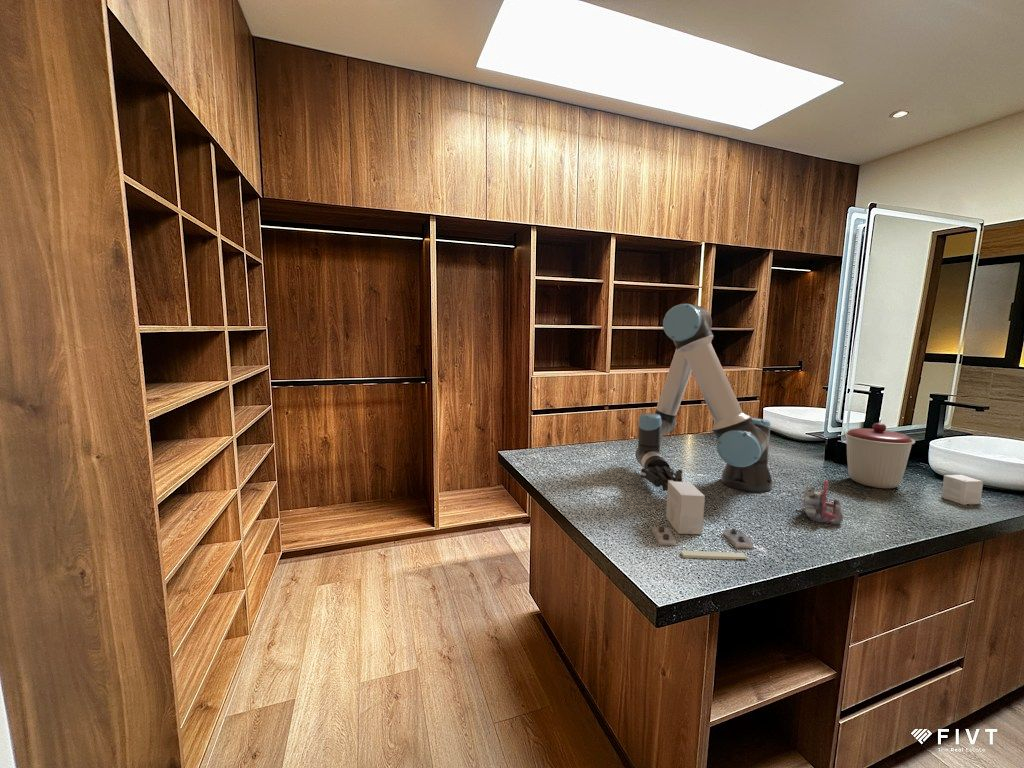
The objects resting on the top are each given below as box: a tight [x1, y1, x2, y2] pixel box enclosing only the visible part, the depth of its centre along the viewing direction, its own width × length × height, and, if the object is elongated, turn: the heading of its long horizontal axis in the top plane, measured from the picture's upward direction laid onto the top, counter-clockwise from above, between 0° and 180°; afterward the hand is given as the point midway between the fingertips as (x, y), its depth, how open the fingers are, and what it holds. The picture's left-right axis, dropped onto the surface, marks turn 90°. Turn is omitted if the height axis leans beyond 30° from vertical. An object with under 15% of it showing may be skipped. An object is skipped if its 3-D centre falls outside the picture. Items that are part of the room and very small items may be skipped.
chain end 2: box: [722, 528, 754, 549], centre depth 104 cm, size 4×7×2 cm, turn 176°
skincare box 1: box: [665, 481, 706, 535], centre depth 112 cm, size 10×6×10 cm, turn 177°
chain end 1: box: [651, 526, 677, 546], centre depth 105 cm, size 4×7×2 cm, turn 176°
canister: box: [844, 422, 916, 489], centre depth 143 cm, size 18×18×21 cm
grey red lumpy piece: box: [800, 479, 844, 525], centre depth 117 cm, size 11×11×12 cm
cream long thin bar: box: [680, 550, 748, 561], centre depth 97 cm, size 14×2×1 cm, turn 86°
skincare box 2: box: [941, 474, 984, 506], centre depth 129 cm, size 6×6×7 cm
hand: (676, 492), depth 117 cm, fingers closed
